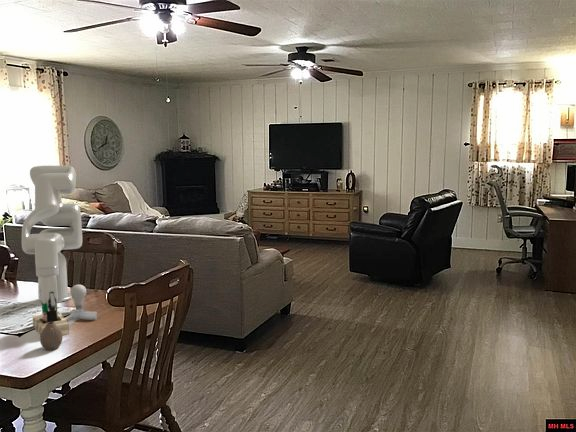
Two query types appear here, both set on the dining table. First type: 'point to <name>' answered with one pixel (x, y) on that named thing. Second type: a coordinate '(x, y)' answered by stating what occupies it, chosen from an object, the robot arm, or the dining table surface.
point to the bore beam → (60, 323)
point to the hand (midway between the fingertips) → (50, 318)
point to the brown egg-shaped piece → (51, 336)
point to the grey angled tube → (81, 315)
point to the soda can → (44, 312)
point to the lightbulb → (78, 295)
